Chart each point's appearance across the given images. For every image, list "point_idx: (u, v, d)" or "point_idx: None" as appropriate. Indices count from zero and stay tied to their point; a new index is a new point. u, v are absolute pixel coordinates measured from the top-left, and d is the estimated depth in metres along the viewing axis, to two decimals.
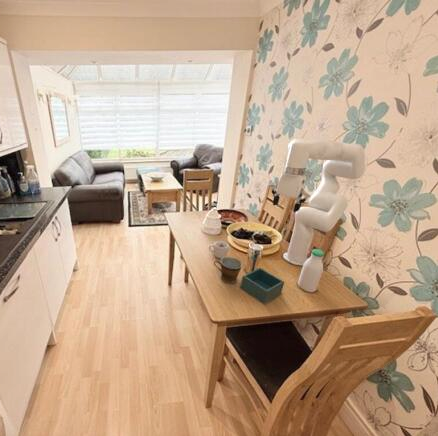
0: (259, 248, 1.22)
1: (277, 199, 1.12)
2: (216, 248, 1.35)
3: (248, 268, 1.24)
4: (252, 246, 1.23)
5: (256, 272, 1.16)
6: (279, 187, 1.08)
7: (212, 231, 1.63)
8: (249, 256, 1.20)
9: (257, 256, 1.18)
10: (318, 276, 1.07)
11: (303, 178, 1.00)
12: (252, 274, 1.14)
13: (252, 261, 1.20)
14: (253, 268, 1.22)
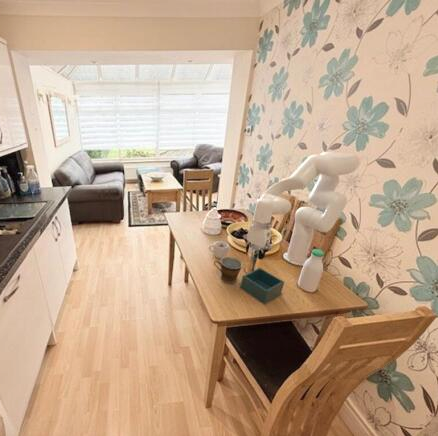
0: (259, 248, 1.22)
1: None
2: (216, 248, 1.35)
3: (248, 268, 1.24)
4: (252, 246, 1.23)
5: (256, 272, 1.16)
6: (248, 236, 1.20)
7: (212, 231, 1.63)
8: (249, 256, 1.20)
9: (257, 256, 1.18)
10: (318, 276, 1.07)
11: (268, 231, 1.12)
12: (252, 274, 1.14)
13: (252, 261, 1.20)
14: (253, 268, 1.22)
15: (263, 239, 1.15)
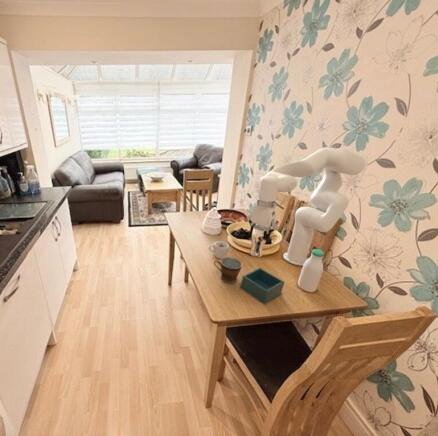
0: (264, 229, 1.18)
1: None
2: (216, 248, 1.35)
3: (253, 250, 1.19)
4: (256, 227, 1.19)
5: (256, 272, 1.16)
6: (253, 216, 1.15)
7: (212, 231, 1.63)
8: (254, 237, 1.16)
9: (262, 236, 1.14)
10: (318, 276, 1.07)
11: (273, 210, 1.07)
12: (252, 274, 1.14)
13: (256, 243, 1.16)
14: (257, 250, 1.18)
15: None
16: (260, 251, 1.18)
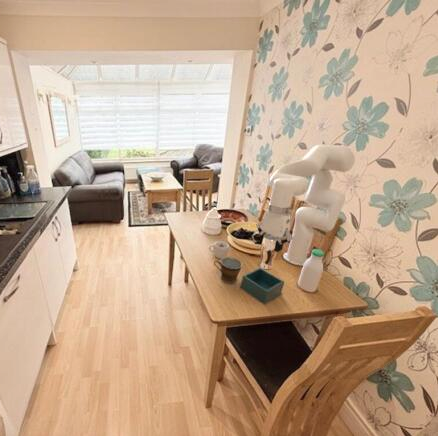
0: (275, 239, 1.04)
1: None
2: (216, 248, 1.35)
3: (262, 262, 1.05)
4: (267, 236, 1.05)
5: (256, 272, 1.16)
6: (263, 224, 1.01)
7: (212, 231, 1.63)
8: (264, 248, 1.02)
9: (273, 247, 1.00)
10: (318, 276, 1.07)
11: (287, 218, 0.94)
12: (252, 274, 1.14)
13: (267, 254, 1.02)
14: (267, 263, 1.04)
15: None
16: (270, 263, 1.04)
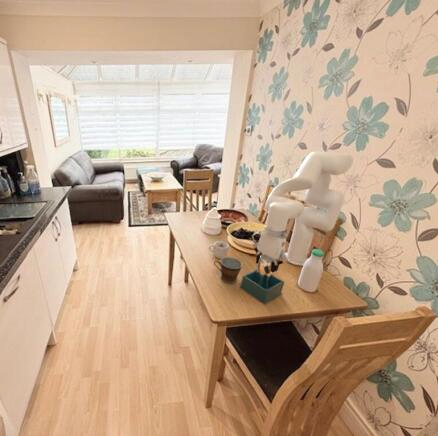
0: (271, 259, 1.07)
1: None
2: (216, 248, 1.35)
3: (259, 281, 1.08)
4: (263, 256, 1.08)
5: (256, 272, 1.16)
6: (260, 245, 1.04)
7: (212, 231, 1.63)
8: (260, 268, 1.05)
9: (269, 268, 1.03)
10: (318, 276, 1.07)
11: (283, 240, 0.97)
12: (252, 274, 1.14)
13: (263, 274, 1.05)
14: (264, 282, 1.07)
15: None
16: (267, 283, 1.07)
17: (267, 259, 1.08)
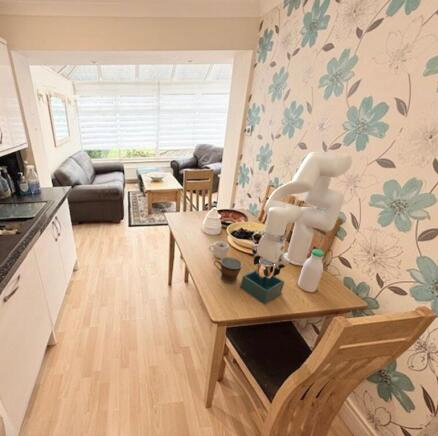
0: (270, 263, 1.08)
1: (258, 259, 1.10)
2: (216, 248, 1.35)
3: None
4: (262, 261, 1.09)
5: None
6: (259, 249, 1.05)
7: (212, 231, 1.63)
8: (259, 273, 1.06)
9: (268, 273, 1.04)
10: (318, 276, 1.07)
11: (282, 245, 0.98)
12: (252, 274, 1.14)
13: (262, 279, 1.06)
14: (263, 286, 1.08)
15: None
16: (266, 287, 1.08)
17: (266, 264, 1.10)
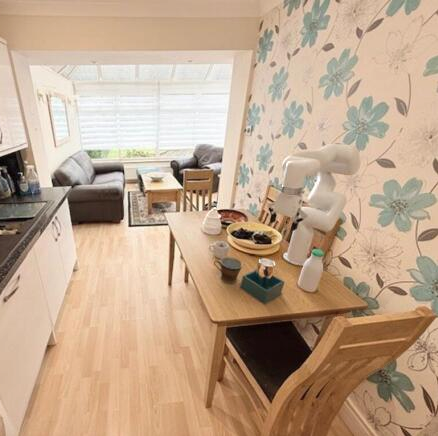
0: (270, 263, 1.08)
1: (274, 217, 1.11)
2: (216, 248, 1.35)
3: None
4: (262, 261, 1.09)
5: None
6: (276, 206, 1.06)
7: (212, 231, 1.63)
8: (259, 273, 1.06)
9: (268, 273, 1.04)
10: (318, 276, 1.07)
11: (300, 198, 0.99)
12: (252, 274, 1.14)
13: (262, 279, 1.06)
14: (263, 286, 1.08)
15: None
16: (266, 287, 1.08)
17: (266, 264, 1.10)
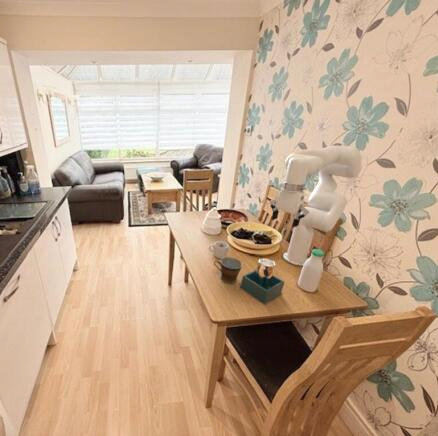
0: (270, 263, 1.08)
1: (276, 213, 1.12)
2: (216, 248, 1.35)
3: None
4: (262, 261, 1.09)
5: None
6: (278, 202, 1.08)
7: (212, 231, 1.63)
8: (259, 273, 1.06)
9: (268, 273, 1.04)
10: (318, 276, 1.07)
11: (302, 194, 1.00)
12: (252, 274, 1.14)
13: (262, 279, 1.06)
14: (263, 286, 1.08)
15: None
16: (266, 287, 1.08)
17: (266, 264, 1.10)
